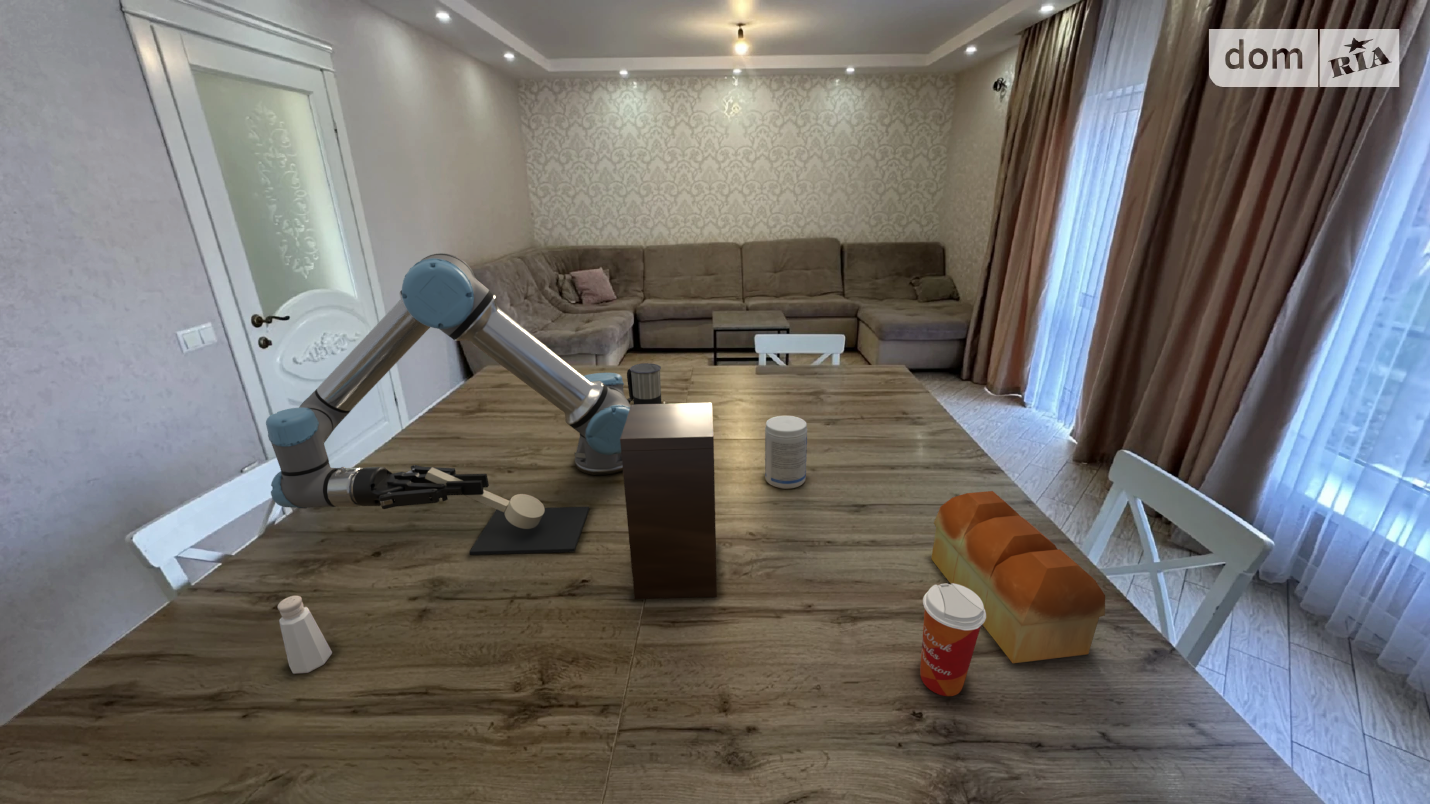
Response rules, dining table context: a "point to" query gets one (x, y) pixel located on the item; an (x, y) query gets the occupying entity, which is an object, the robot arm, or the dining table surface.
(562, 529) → the mat
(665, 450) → the tall dark wooden box
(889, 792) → the dining table surface
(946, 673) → the paper cup
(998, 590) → the bread
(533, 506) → the scoop
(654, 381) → the milk frother
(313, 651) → the pepper shaker
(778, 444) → the supplement tub
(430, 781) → the dining table surface
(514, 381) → the dining table surface
